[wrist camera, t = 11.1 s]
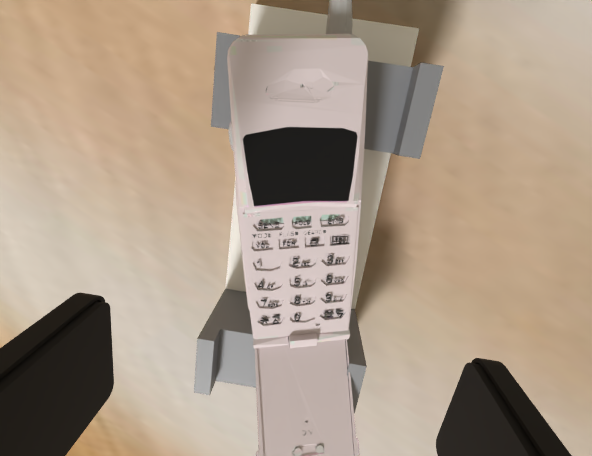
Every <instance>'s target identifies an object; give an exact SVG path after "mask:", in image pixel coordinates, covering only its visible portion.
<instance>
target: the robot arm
mask: <svg viewBox="0 0 592 456" xmlns="http://www.w3.org/2000/svg"><path fill="white" fill-rule="evenodd" d="M113 385H114V377H113V357H112V336H111V316H110V305H109V304H108V303H105V300H104V298H103V297H102V296H98V295H92V294H85V293H76V294H75V295H73V296H72V297H70V298H69V299H67V300H66V301H65V302H63V303H62V304H61V305H59V306H58V307H56V308H55V309H54V310H52V311H51V312H50V313H48V314H47V315H45V316H44V317H43V318H41V319H40V320H39V321H37V322H36V323H34V324H33V325H32V326H30V327H29V328H28V329H26V330H25V331H23V332H22V333H21V334H19V335H18V336H17V337H15V338H14V339H12V340H11V341H10V342H8V343H7V344H6V345H4V346H3V347H1V348H0V456H65V455H66V454H67V453H68V451H69V450H70V449H71V447H72V446H73V445H74V443H75V442H76V441H77V439H78V438H79V437H80V435H81V434H82V433H83V431H84V430H85V429H86V427H87V426H88V425H89V423H90V422H91V421H92V419H93V418H94V417H95V415H96V414H97V413H98V411H99V410H100V409H101V407H102V406H103V405H104V403H105V402H106V401H107V399H108V398H109V396H110V394H111V392H112V389H113ZM436 449H437V454H438V456H571V454H570V453H569V452H568V450H567V449H566V448H565V446H564V445H563V444H562V442H561V441H560V440H559V438H558V437H557V436H556V434H555V433H554V432H553V430H552V429H551V427H550V426H549V425H548V423H547V422H546V421H545V419H544V418H543V417H542V415H541V414H540V413H539V411H538V410H537V409H536V407H535V406H534V405H533V403H532V402H531V400H530V399H529V398H528V396H527V395H526V394H525V392H524V391H523V390H522V388H521V387H520V386H519V384H518V383H517V382H516V380H515V379H514V378H513V376H512V375H511V374H510V372H509V371H508V369H507V368H506V367H505V366H504V365H503V364H502V363H501V362H499V361H493V360H487V359H481V358H475V359H474V360H473V361H472V362H471V363H467V364H466V365H465V367H464V369H463V372H462V374H461V377H460V380H459V382H458V385H457V387H456V390H455V392H454V395H453V397H452V400H451V403H450V405H449V408H448V410H447V413H446V415H445V418H444V421H443V423H442V426H441V428H440V431H439V433H438V436H437V439H436Z"/></svg>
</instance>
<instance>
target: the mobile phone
mask: <svg viewBox="0 0 592 456" xmlns="http://www.w3.org/2000/svg"><path fill="white" fill-rule="evenodd" d="M352 25H353V21H352V0H329V8H328V17H327V26H326V34H275V35H243V36H240V37H239V38H237V39H236V40H235V41H233V42H232V44H231V46H230V47H229V49H228V55H227V63H228V78H229V92H230V107H231V122H230V124H229V141H230V145H231V149H232V150H233V151H234V164H235V178H236V183H235V185H236V206H237V215H238V224H239V233H240V242H241V251H242V260H243V269H244V278H245V286H246V294H247V303H248V308H249V311H250V317H251V325H252V332H253V338H254V340H253V347H254V348H255V369H256V394H257V419H258V442H259V445H258V447H259V450H258V451H257V452H256V456H360V452H359V440H358V438H356V428H355V418H354V408H353V397H352V387H351V377H350V372H349V381H348V376H347V367H348V365H349V356H348V346H347V339H349V337H350V331H349V322H350V314H351V305H352V296H353V288H354V279H355V270H356V261H357V249H358V237H359V224H360V210H361V195H362V178H363V161H364V143H365V124H366V98H367V71H368V51H367V48H366V45H365V44H364V42H363V41H362V40H361V39H360V38H359V37H357V36H355V35H354V34H352ZM345 339H346V346H345ZM346 350H347V359H346Z"/></svg>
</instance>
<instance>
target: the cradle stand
mask: <svg viewBox="0 0 592 456" xmlns="http://www.w3.org/2000/svg"><path fill="white" fill-rule="evenodd" d="M327 17H328V15H326V14H319V13H313V12H306V11H299V10H292V9H286V8H279V7H272V6H265V5H259V4H252V3H251V12H250V23H249V34H248V35H275V34H326V26H327ZM352 21H353V25H352V34H354V35H355V36H357V37H359V38H360V39H361V40H362V41H363V42H364V44H365V45H366V48H367V51H368V71H367V98H366V124H365V143H364V161H363V178H362V195H361V210H360V224H359V237H358V249H357V261H356V270H355V279H354V288H353V296H352V305H351V314H350V322H349V331H350V337H349V339H347V346H348V356H349V365H348V367H347V376H348V381H349V372H350V377H351V387H352V397H353V408H354V413H355V409H356V405H357V402H358V398H359V394H360V390H361V386H362V382H363V378H364V374H365V370H366V367H367V366H366V361H365V356H364V352H363V347H362V342H361V337H360V332H359V327H358V322H357V317H356V312H355V307H356V303H357V299H358V294H359V290H360V285H361V281H362V277H363V272H364V268H365V264H366V259H367V255H368V251H369V246H370V242H371V238H372V233H373V229H374V224H375V220H376V216H377V211H378V207H379V203H380V198H381V194H382V190H383V185H384V181H385V177H386V172H387V168H388V163H389V159H390V155H391V153H393V154H396V155H399V156H405V157H412V158H418V159H420V157H421V153H422V149H423V145H424V141H425V137H426V133H427V129H428V125H429V122H430V118H431V114H432V110H433V106H434V102H435V98H436V94H437V90H438V87H439V83H440V79H441V75H442V71H443V67H444V66H440V65H433V64H427V63H419V64H418V65H416V66H415V67H411V63H412V59H413V54H414V50H415V46H416V41H417V37H418V33H419V28H414V27H407V26H400V25H394V24H387V23H380V22H373V21H367V20H360V19H353V18H352ZM239 37H240V35H233V34H226V33H220V32H217V41H216V57H215V72H214V88H213V103H212V119H211V127H217V128H224V129H229V124H230V122H231V107H230V92H229V78H228V63H227V55H228V49H229V47H230V46H231V44H232V42H233V41H235V40H236V39H237V38H239ZM235 183H236V178H235ZM253 340H254V338H253V332H252V325H251V317H250V311H249V308H248V303H247V294H246V286H245V278H244V269H243V260H242V251H241V242H240V233H239V224H238V215H237V206H236V185H235V189H234V201H233V212H232V223H231V234H230V245H229V256H228V267H227V278H226V289H225V290H224V292H223V294H222V296H221V298H220V299H219V301H218V303H217V305H216V306H215V308H214V310H213V312H212V314H211V315H210V317H209V319H208V321H207V322H206V324H205V326H204V328H203V330H202V331H201V333H200V335H199V337H198V338H197V353H196V368H195V384H194V393H200V394H206V395H210V393H211V391H212V388H213V386H214V383H215V381H219V382H225V383H231V384H237V385H243V386H249V387H255V388H256V369H255V348H254V347H253ZM345 346H346V339H345ZM346 359H347V350H346Z"/></svg>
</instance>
